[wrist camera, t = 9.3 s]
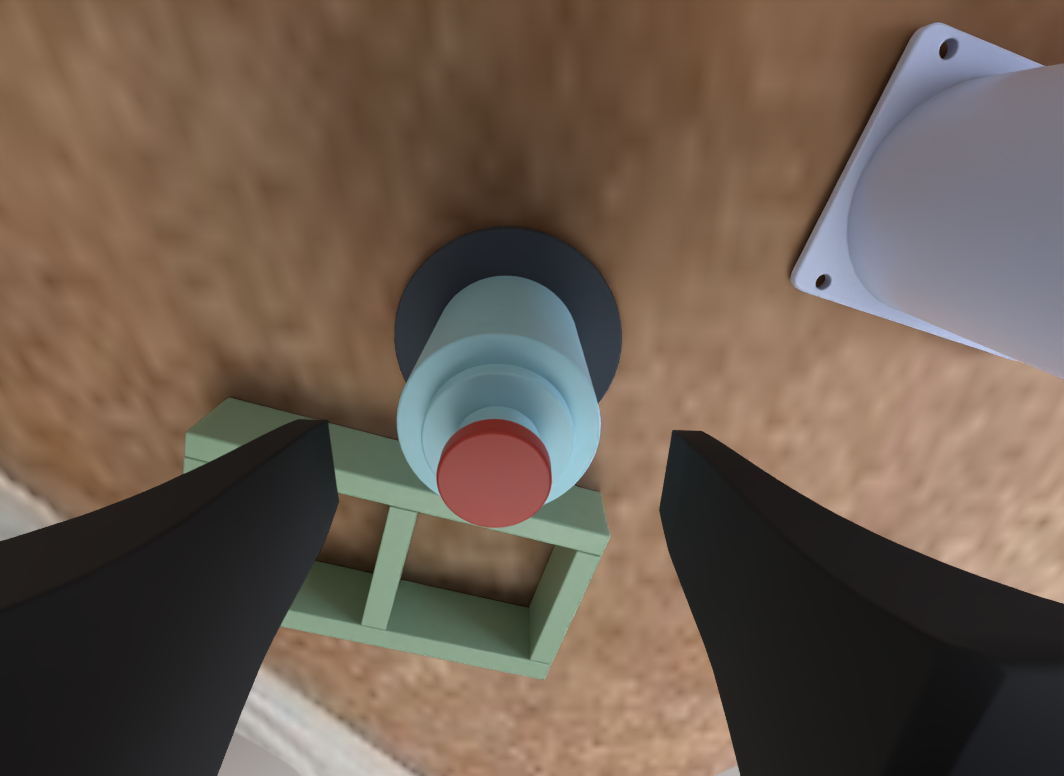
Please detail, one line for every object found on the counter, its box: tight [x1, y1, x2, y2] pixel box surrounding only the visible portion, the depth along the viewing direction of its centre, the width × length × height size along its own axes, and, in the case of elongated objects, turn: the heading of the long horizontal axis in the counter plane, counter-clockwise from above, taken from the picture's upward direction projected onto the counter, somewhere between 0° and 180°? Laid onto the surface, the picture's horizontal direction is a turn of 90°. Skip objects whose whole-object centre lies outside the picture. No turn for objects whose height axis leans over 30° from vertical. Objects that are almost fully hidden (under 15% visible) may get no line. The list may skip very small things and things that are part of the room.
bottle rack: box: [183, 398, 610, 680], centre depth 21 cm, size 8×15×3 cm, turn 73°
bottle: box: [397, 276, 601, 528], centre depth 15 cm, size 5×5×8 cm
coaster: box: [395, 226, 622, 403], centre depth 19 cm, size 8×8×1 cm
